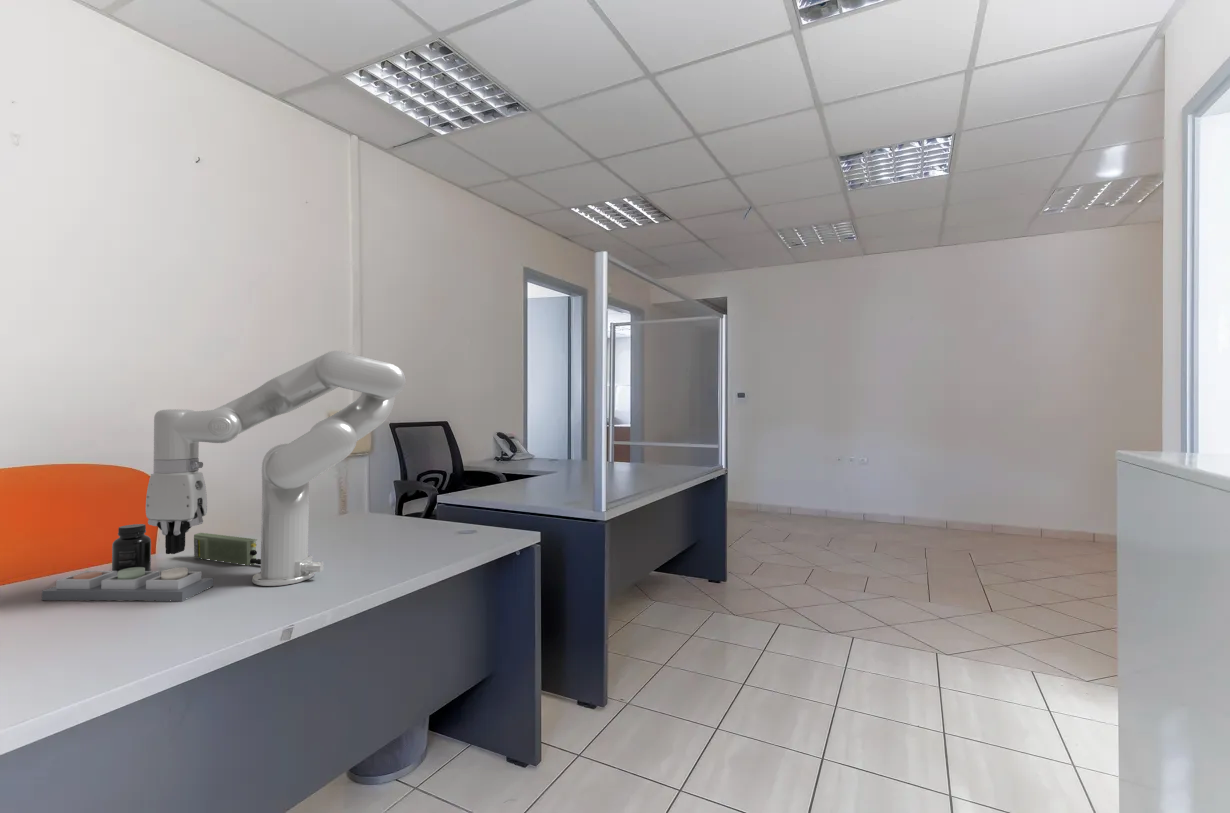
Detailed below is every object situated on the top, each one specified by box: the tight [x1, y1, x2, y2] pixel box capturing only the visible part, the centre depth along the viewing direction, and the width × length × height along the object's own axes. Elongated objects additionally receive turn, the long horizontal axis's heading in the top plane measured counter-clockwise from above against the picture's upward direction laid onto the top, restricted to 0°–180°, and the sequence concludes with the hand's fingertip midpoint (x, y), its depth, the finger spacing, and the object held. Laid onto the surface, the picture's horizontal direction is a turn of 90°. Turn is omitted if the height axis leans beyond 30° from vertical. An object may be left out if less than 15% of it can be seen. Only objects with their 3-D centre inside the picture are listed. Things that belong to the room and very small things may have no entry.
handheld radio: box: [193, 532, 261, 566], centre depth 141 cm, size 7×3×25 cm
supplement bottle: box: [111, 523, 152, 574], centre depth 127 cm, size 7×7×12 cm
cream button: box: [160, 567, 189, 580], centre depth 117 cm, size 4×4×2 cm
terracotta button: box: [73, 570, 102, 579], centre depth 116 cm, size 4×4×2 cm
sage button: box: [117, 567, 145, 580], centre depth 116 cm, size 4×4×2 cm
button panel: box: [41, 570, 214, 602], centre depth 116 cm, size 28×9×4 cm, turn 92°
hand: (175, 552), depth 117 cm, fingers closed
